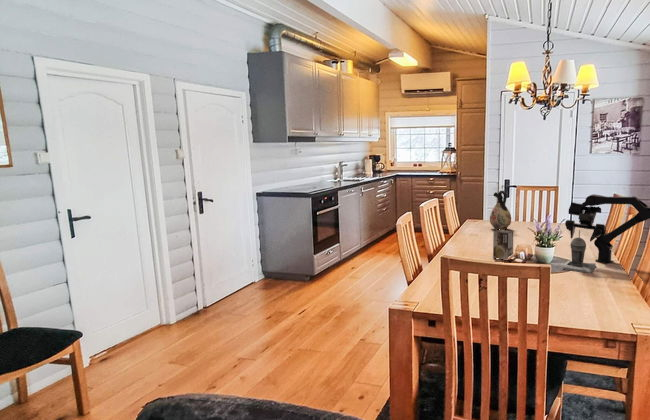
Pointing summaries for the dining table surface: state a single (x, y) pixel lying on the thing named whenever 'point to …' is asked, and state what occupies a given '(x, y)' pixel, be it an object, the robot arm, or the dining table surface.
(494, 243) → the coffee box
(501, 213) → the ceramic jug
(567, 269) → the gray raised edge tray
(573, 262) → the beverage cup
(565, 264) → the flared docking tray
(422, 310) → the dining table surface
